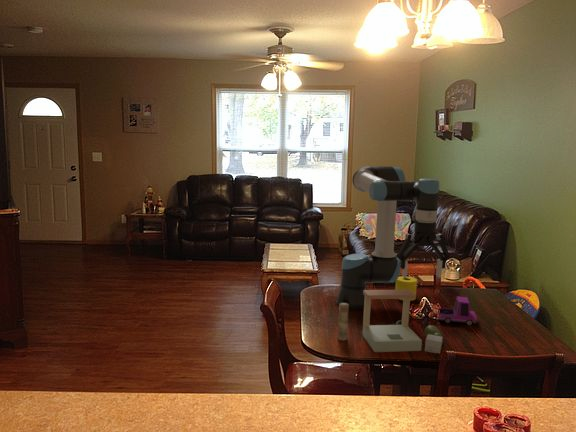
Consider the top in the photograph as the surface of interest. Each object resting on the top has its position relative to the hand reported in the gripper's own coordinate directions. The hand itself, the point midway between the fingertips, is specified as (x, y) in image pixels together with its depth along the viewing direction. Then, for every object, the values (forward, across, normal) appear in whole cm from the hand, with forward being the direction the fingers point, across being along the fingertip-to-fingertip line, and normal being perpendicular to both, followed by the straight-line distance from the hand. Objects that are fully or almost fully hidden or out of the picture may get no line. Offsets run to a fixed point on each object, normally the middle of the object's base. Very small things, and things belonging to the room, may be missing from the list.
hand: (421, 277), depth 194 cm
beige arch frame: (+23, -9, +9) cm, 26 cm away
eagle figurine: (+28, +1, +17) cm, 32 cm away
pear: (+28, +9, +4) cm, 29 cm away
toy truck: (+28, +28, +24) cm, 46 cm away
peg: (+27, -27, +9) cm, 39 cm away
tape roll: (+28, +18, +56) cm, 65 cm away
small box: (+28, +5, -4) cm, 28 cm away
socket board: (+27, -9, +4) cm, 29 cm away
